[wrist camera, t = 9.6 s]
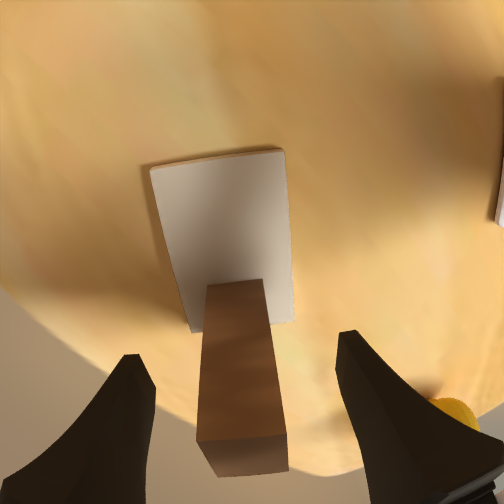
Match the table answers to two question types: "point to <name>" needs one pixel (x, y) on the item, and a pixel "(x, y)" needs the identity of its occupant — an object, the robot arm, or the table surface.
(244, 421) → the brown grey l-shaped block
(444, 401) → the lemon
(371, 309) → the table surface
